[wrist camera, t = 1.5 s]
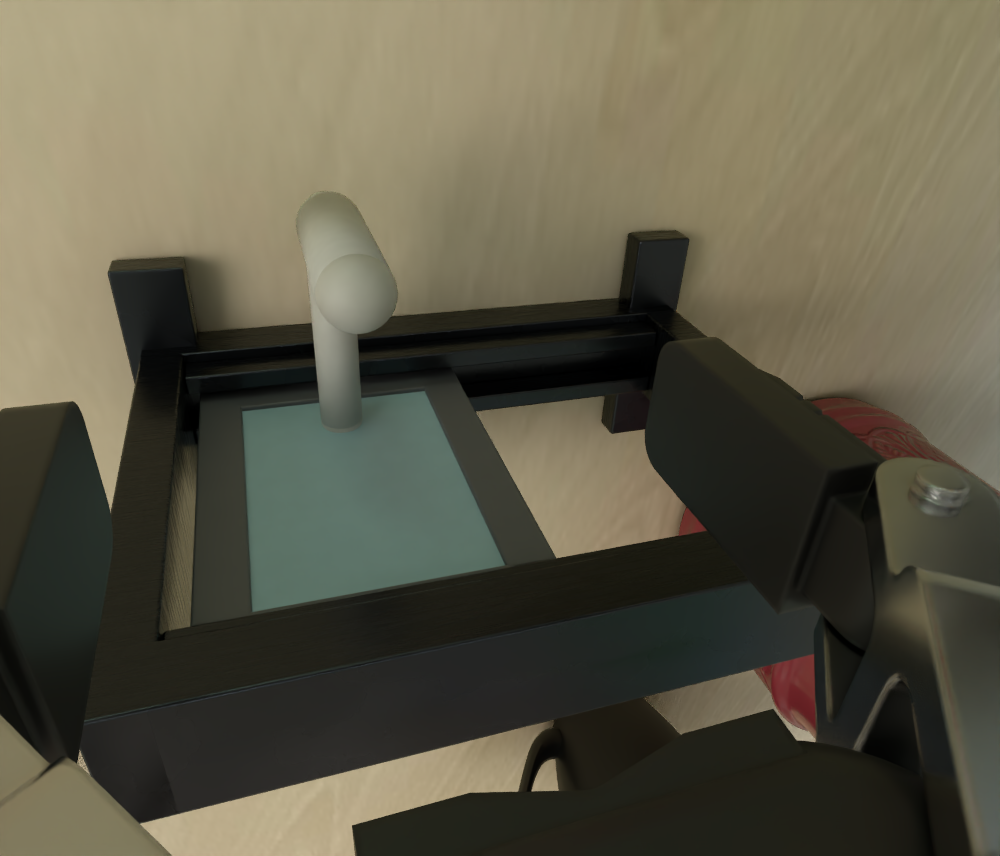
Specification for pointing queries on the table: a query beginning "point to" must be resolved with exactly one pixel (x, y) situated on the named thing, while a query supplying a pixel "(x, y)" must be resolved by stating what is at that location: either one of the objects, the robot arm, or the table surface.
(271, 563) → the window pane
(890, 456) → the kitchen canister
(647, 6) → the table surface
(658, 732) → the mug
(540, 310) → the window frame
